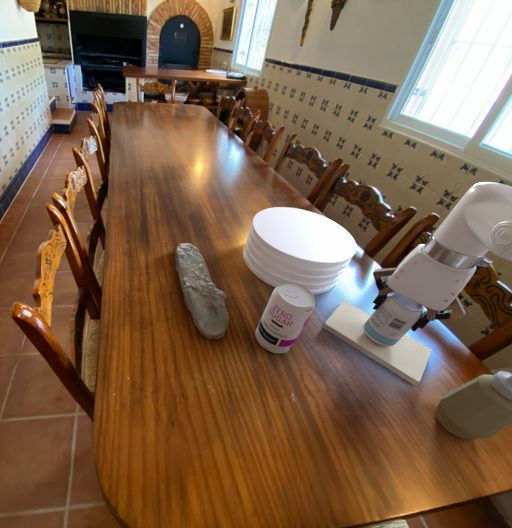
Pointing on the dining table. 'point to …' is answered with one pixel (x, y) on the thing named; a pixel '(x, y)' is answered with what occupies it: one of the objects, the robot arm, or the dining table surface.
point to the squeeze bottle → (478, 407)
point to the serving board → (392, 357)
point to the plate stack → (298, 248)
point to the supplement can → (284, 317)
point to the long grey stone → (201, 293)
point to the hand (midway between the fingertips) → (394, 316)
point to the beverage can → (392, 319)
